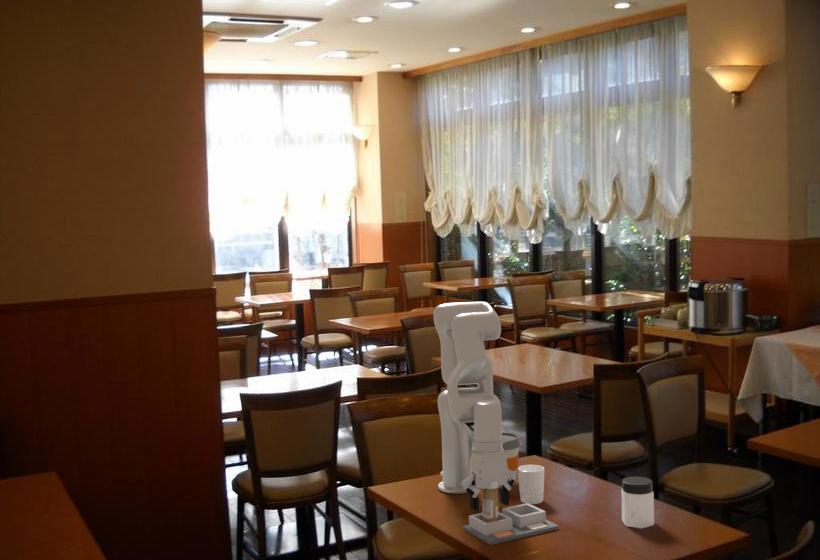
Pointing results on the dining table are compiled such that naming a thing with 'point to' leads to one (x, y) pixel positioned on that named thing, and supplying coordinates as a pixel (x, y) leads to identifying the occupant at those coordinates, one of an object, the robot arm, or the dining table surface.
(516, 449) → the reusable coffee cup
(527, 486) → the white cup
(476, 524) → the socket board
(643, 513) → the jar
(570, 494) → the dining table surface
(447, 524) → the dining table surface
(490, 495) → the sprinkles bottle
